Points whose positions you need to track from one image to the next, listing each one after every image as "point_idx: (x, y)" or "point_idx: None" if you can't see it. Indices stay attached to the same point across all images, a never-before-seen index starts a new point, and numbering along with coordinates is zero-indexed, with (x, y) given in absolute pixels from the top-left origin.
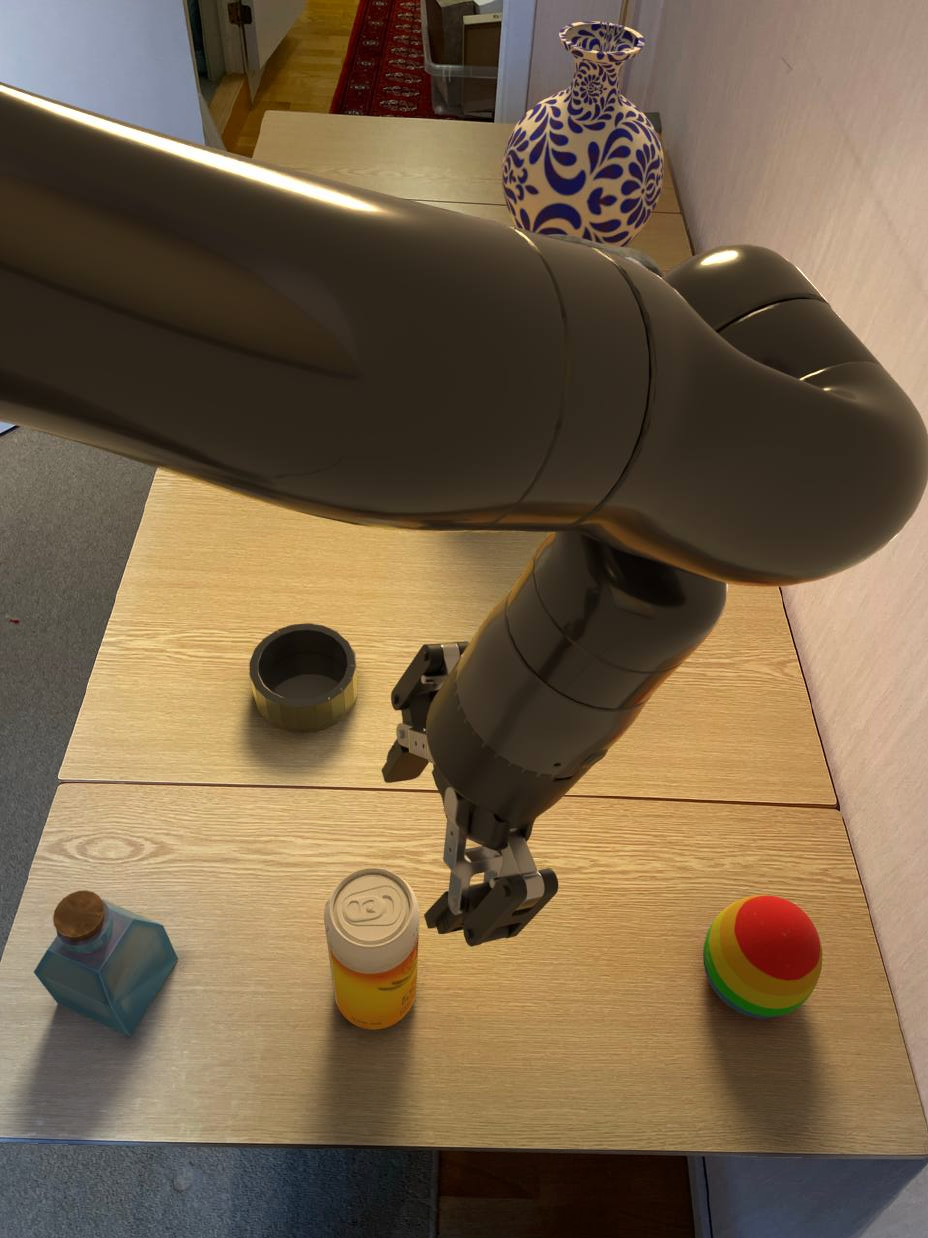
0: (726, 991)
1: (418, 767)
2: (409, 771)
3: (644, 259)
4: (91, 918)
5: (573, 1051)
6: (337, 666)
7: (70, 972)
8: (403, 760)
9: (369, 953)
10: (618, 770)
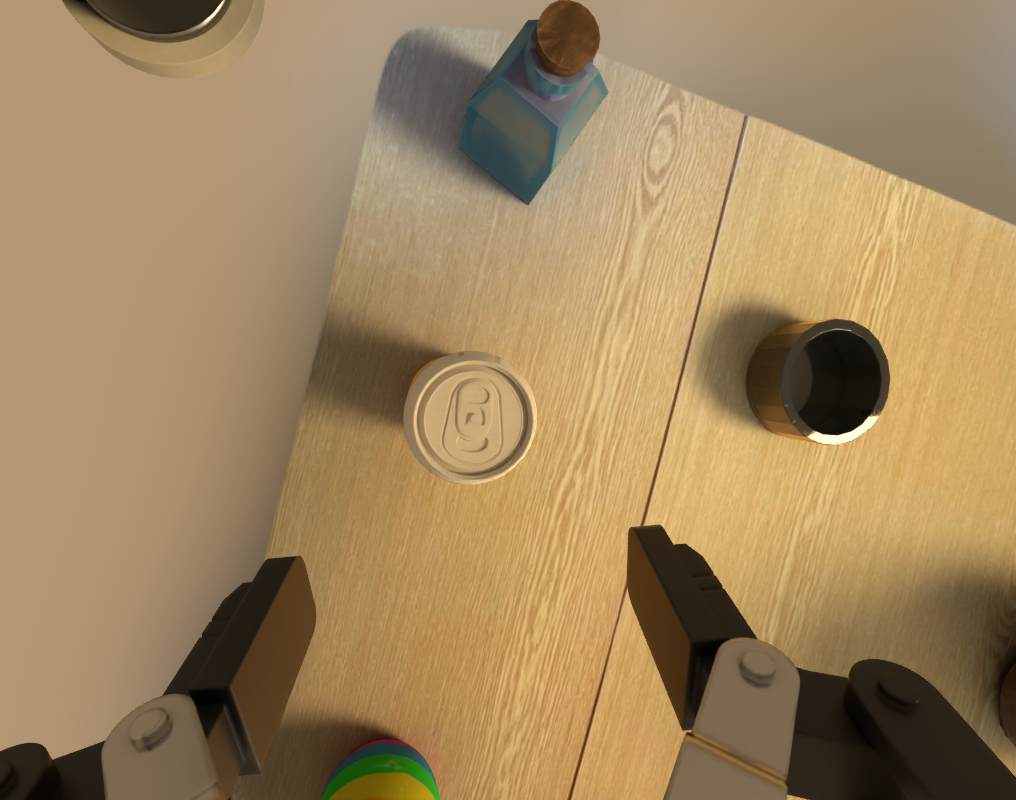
0: (348, 774)
1: (646, 623)
2: (642, 596)
3: None
4: (558, 50)
5: (347, 582)
6: (818, 420)
7: (512, 51)
8: (669, 618)
9: (410, 406)
10: (629, 697)
